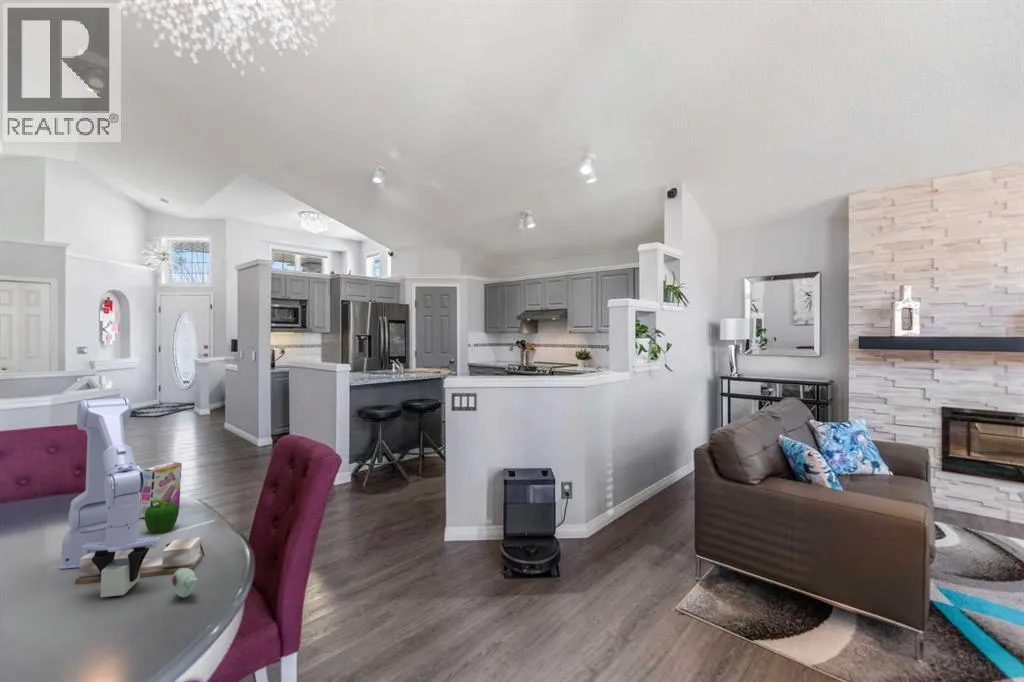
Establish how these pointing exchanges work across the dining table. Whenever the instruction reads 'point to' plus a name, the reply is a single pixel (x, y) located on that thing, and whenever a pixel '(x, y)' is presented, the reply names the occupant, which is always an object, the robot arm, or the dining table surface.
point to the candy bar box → (160, 485)
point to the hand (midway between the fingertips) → (120, 581)
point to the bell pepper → (161, 516)
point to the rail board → (150, 561)
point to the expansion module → (116, 577)
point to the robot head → (183, 581)
